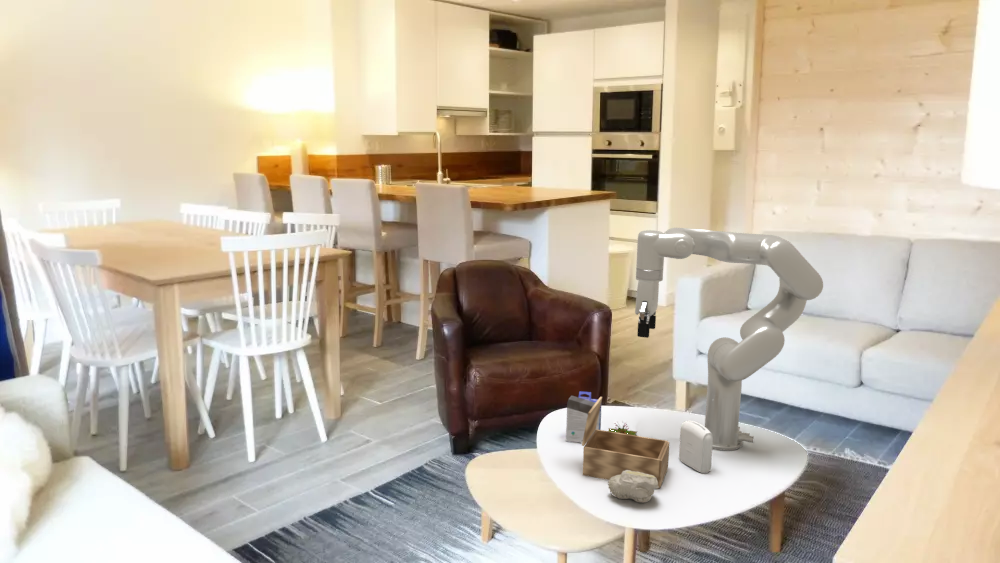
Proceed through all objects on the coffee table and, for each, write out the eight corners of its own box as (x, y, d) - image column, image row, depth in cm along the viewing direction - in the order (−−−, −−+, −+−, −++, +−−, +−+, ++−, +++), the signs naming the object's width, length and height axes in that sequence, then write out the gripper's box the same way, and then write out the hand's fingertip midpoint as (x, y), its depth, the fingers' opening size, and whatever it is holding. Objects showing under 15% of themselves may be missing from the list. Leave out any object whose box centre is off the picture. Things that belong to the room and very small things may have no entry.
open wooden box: (668, 468, 206) (669, 441, 204) (659, 489, 194) (661, 460, 192) (594, 455, 213) (595, 429, 212) (582, 475, 201) (583, 447, 200)
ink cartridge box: (600, 437, 226) (602, 391, 223) (599, 445, 220) (601, 398, 217) (567, 434, 228) (569, 389, 225) (565, 441, 222) (567, 395, 219)
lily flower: (638, 448, 220) (639, 433, 219) (597, 442, 223) (598, 428, 222) (643, 432, 231) (644, 418, 230) (604, 427, 234) (604, 413, 233)
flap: (583, 446, 200) (556, 437, 202) (596, 428, 211) (570, 420, 214) (590, 413, 197) (563, 405, 200) (602, 397, 209) (576, 389, 211)
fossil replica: (606, 489, 194) (613, 512, 185) (605, 461, 192) (612, 482, 182) (652, 485, 194) (661, 508, 185) (652, 457, 192) (661, 478, 182)
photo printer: (676, 459, 211) (678, 418, 209) (688, 457, 213) (691, 415, 210) (700, 475, 202) (703, 432, 200) (713, 472, 204) (716, 429, 201)
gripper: (642, 268, 222) (639, 324, 226) (629, 279, 207) (627, 339, 210) (667, 270, 220) (664, 326, 223) (657, 281, 204) (654, 342, 208)
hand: (646, 332), depth 217 cm, fingers open, 9 cm apart
